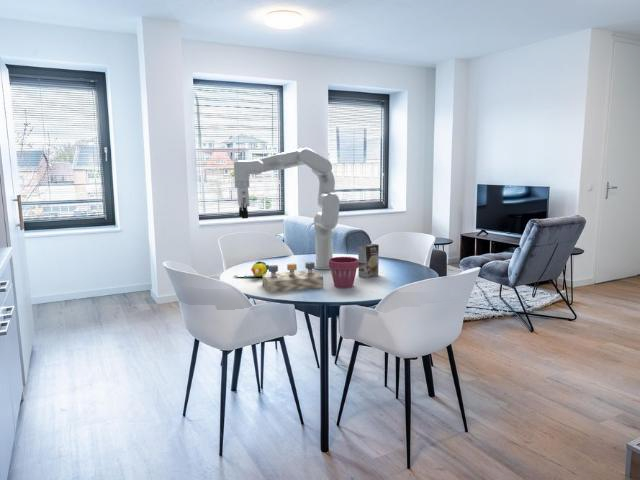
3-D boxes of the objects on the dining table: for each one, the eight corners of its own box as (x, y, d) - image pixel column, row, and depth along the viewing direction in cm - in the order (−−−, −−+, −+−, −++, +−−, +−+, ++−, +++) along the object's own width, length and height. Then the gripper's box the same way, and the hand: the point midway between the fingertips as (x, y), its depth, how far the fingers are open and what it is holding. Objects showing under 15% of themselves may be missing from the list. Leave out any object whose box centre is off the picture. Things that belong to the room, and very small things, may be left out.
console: (313, 279, 241) (313, 270, 240) (323, 287, 225) (323, 276, 225) (262, 284, 233) (262, 274, 232) (269, 292, 218) (268, 281, 217)
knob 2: (313, 273, 234) (313, 261, 233) (315, 275, 230) (315, 263, 229) (304, 274, 233) (304, 262, 232) (307, 276, 228) (306, 264, 228)
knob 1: (277, 276, 229) (276, 264, 228) (279, 278, 224) (278, 266, 224) (268, 277, 227) (267, 265, 226) (270, 279, 223) (269, 267, 222)
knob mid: (295, 275, 231) (295, 263, 230) (297, 277, 227) (297, 265, 226) (286, 275, 230) (286, 264, 229) (288, 277, 226) (288, 265, 225)
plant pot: (363, 287, 223) (363, 260, 221) (334, 290, 219) (334, 263, 217) (352, 281, 236) (352, 255, 234) (325, 283, 232) (324, 257, 230)
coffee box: (367, 278, 242) (367, 246, 239) (358, 276, 246) (357, 245, 244) (379, 275, 248) (378, 244, 246) (369, 273, 252) (369, 243, 250)
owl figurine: (229, 264, 244) (237, 259, 258) (229, 280, 245) (237, 274, 260) (283, 263, 241) (288, 258, 256) (283, 280, 242) (288, 274, 257)
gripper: (251, 184, 241) (253, 218, 244) (247, 184, 257) (248, 215, 260) (236, 185, 239) (238, 219, 242) (232, 184, 255) (234, 216, 258)
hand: (243, 217), depth 251 cm, fingers open, 9 cm apart
